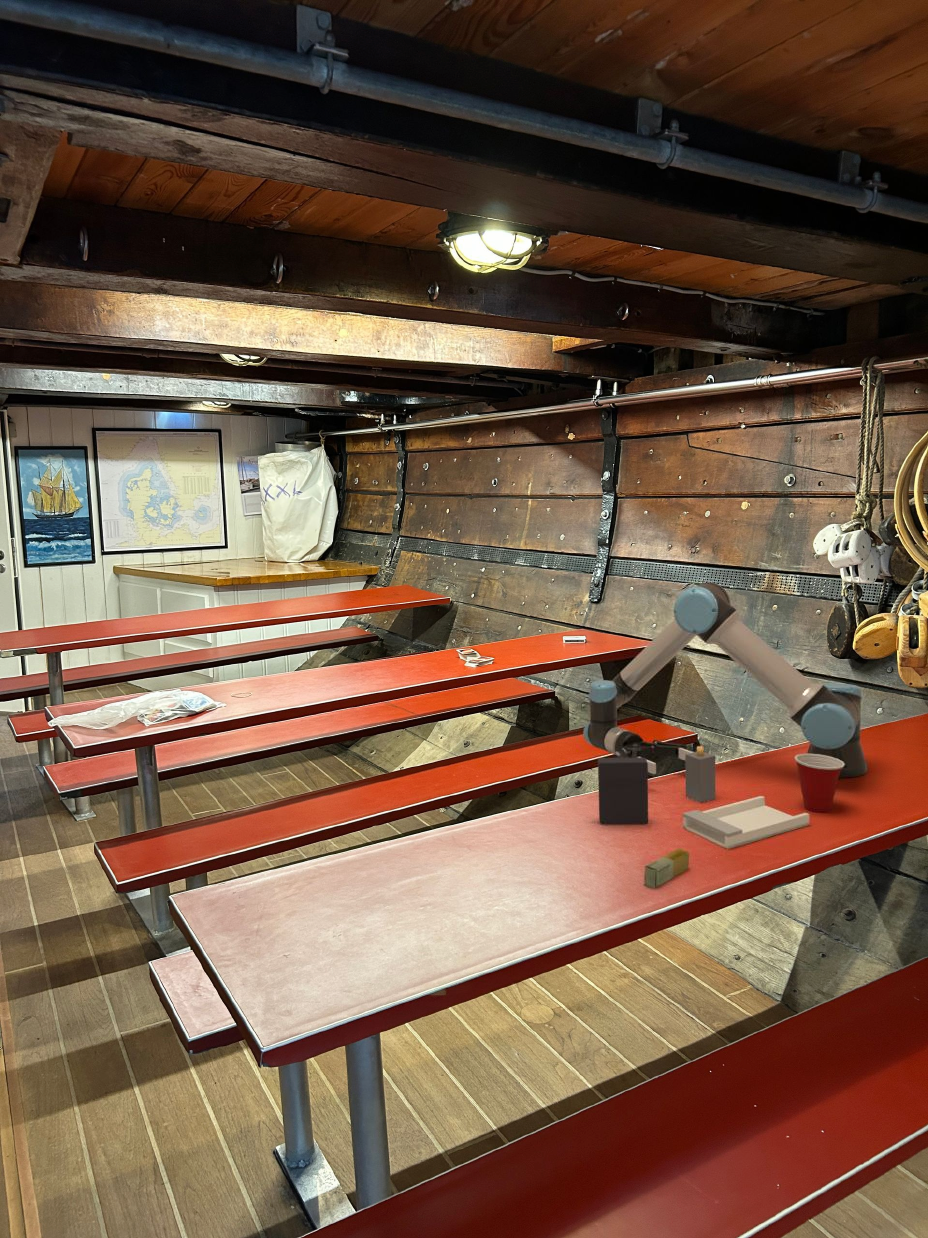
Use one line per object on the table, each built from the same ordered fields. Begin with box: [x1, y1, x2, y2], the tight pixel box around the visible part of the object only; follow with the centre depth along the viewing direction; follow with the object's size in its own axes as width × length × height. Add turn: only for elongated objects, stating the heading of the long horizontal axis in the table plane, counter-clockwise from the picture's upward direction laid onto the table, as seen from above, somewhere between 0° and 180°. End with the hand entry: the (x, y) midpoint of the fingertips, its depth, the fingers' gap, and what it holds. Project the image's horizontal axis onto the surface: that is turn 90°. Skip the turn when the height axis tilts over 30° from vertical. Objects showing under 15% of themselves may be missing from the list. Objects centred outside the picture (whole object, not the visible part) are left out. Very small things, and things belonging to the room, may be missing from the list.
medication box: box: [643, 847, 690, 889], centre depth 169 cm, size 12×3×4 cm, turn 133°
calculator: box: [597, 757, 649, 825], centre depth 197 cm, size 11×4×15 cm, turn 84°
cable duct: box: [682, 795, 810, 850], centre depth 192 cm, size 24×14×3 cm, turn 117°
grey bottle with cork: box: [684, 745, 716, 804], centre depth 210 cm, size 5×5×13 cm
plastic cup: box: [794, 753, 845, 813], centre depth 200 cm, size 11×11×12 cm
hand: (676, 764), depth 217 cm, fingers open, 13 cm apart
